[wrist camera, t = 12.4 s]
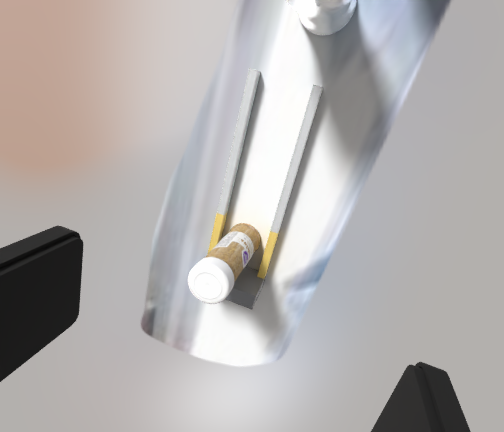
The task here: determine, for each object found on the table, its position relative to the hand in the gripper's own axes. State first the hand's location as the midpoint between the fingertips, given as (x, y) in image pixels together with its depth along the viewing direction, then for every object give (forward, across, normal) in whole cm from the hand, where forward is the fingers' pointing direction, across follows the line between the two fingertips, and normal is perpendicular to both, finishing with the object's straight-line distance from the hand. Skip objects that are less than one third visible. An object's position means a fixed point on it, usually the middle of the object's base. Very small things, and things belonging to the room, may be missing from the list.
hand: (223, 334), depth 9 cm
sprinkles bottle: (+34, +6, +13) cm, 36 cm away
